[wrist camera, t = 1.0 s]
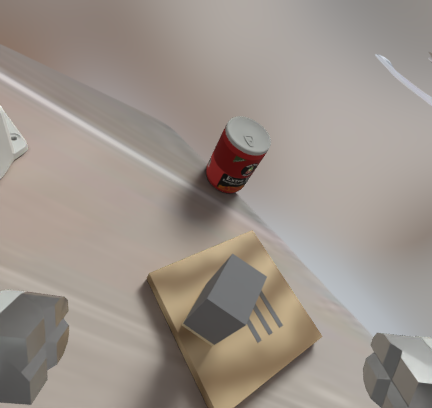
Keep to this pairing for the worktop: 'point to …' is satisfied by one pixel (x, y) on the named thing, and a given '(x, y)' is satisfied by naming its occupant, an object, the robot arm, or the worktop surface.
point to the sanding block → (225, 301)
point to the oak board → (243, 338)
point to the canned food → (237, 154)
